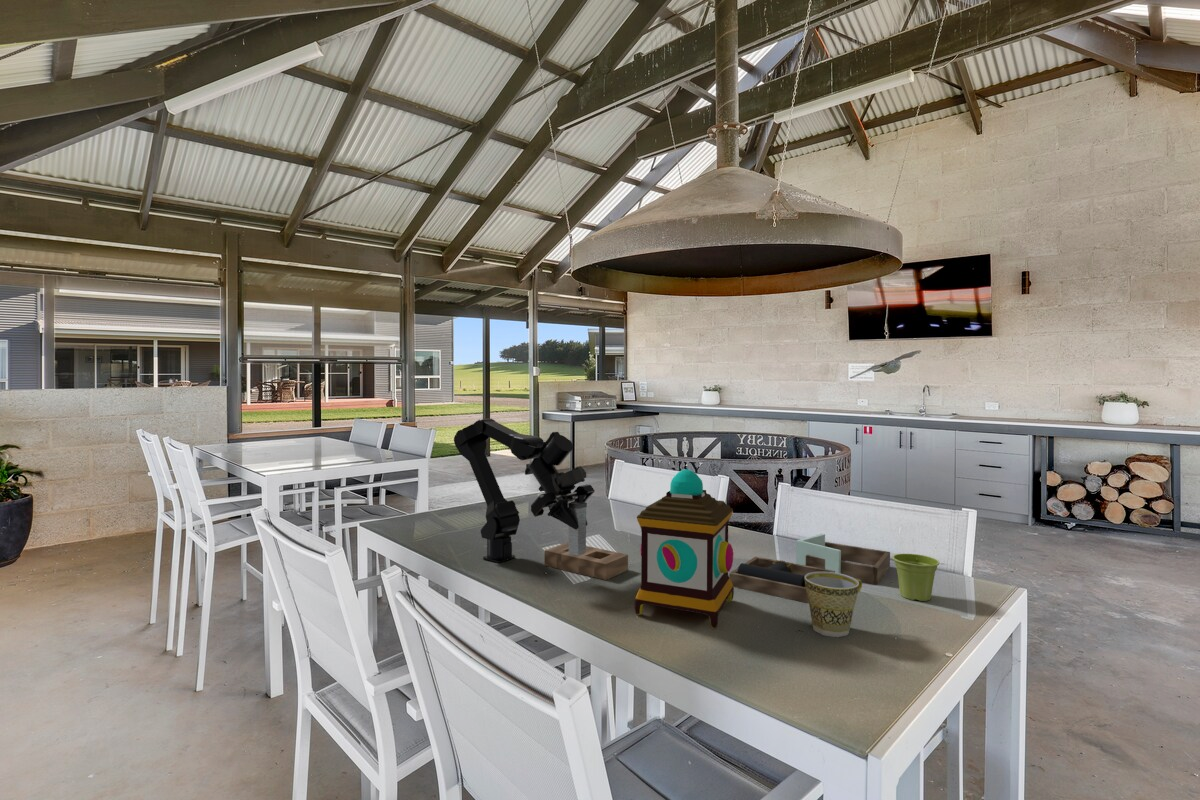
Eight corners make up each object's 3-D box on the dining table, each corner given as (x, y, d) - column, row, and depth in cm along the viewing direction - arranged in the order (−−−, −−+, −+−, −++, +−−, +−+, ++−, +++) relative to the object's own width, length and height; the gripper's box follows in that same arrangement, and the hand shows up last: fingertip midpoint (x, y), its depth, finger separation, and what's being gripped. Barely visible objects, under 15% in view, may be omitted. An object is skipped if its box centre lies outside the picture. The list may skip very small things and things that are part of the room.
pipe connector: (755, 553, 147) (815, 564, 138) (755, 574, 147) (815, 586, 138) (737, 565, 138) (800, 578, 129) (736, 587, 138) (799, 601, 129)
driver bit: (568, 553, 141) (568, 503, 140) (576, 550, 143) (576, 500, 143) (578, 555, 139) (578, 504, 138) (586, 552, 141) (586, 502, 141)
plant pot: (882, 592, 133) (883, 555, 133) (911, 587, 137) (911, 551, 137) (919, 607, 125) (919, 567, 125) (948, 600, 129) (949, 562, 128)
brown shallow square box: (805, 571, 149) (805, 555, 149) (823, 555, 163) (823, 541, 162) (877, 584, 139) (877, 568, 139) (889, 566, 153) (890, 552, 152)
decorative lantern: (741, 599, 129) (742, 466, 128) (722, 634, 111) (723, 479, 110) (656, 586, 137) (656, 461, 136) (625, 616, 119) (626, 472, 118)
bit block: (544, 565, 153) (544, 550, 153) (568, 556, 161) (568, 542, 161) (605, 580, 141) (605, 564, 141) (628, 569, 149) (628, 554, 149)
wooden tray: (729, 585, 138) (729, 573, 138) (755, 567, 152) (755, 556, 151) (815, 604, 126) (815, 590, 126) (835, 583, 140) (835, 570, 140)
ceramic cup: (830, 645, 106) (831, 591, 106) (792, 624, 115) (793, 575, 115) (881, 633, 111) (882, 582, 111) (841, 614, 121) (841, 567, 120)
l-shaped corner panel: (838, 580, 143) (838, 550, 143) (796, 568, 153) (796, 540, 152) (863, 571, 150) (863, 543, 150) (821, 560, 160) (821, 533, 160)
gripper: (539, 460, 135) (575, 514, 129) (589, 453, 150) (623, 501, 144) (515, 489, 140) (549, 542, 134) (566, 480, 155) (598, 527, 149)
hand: (581, 527), depth 140 cm, fingers closed on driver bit, 3 cm apart
